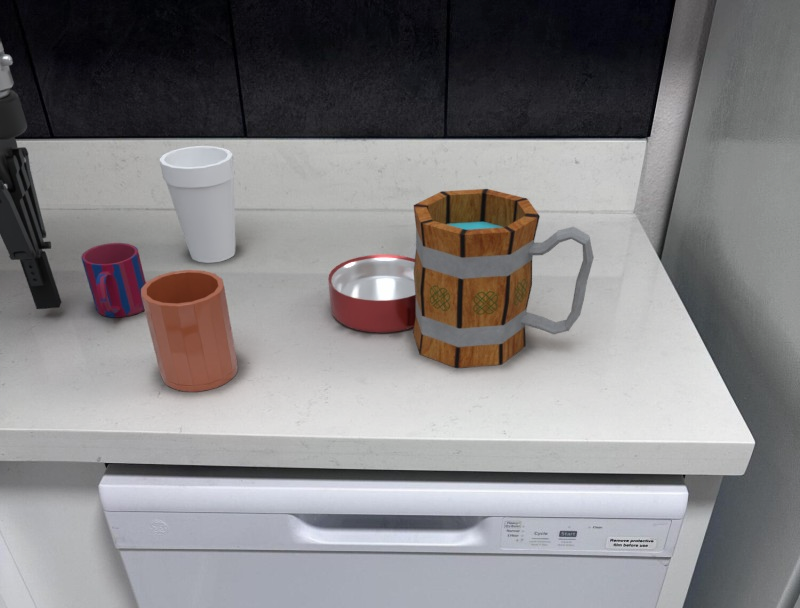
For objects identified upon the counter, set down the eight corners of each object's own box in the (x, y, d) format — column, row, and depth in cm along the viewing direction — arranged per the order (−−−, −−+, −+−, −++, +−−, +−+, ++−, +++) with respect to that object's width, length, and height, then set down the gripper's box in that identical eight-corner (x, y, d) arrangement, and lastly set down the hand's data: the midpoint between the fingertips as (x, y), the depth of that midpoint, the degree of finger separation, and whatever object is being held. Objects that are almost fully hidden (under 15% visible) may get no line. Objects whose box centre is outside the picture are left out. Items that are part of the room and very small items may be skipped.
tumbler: (145, 379, 87) (123, 294, 80) (196, 346, 93) (179, 264, 86) (204, 399, 84) (185, 312, 77) (252, 364, 89) (239, 280, 83)
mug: (398, 360, 90) (396, 228, 79) (426, 307, 99) (427, 184, 89) (572, 382, 86) (594, 247, 76) (583, 325, 95) (604, 198, 85)
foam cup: (189, 240, 116) (170, 145, 107) (251, 240, 116) (237, 145, 107) (172, 267, 109) (151, 168, 100) (238, 267, 109) (223, 168, 100)
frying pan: (392, 229, 118) (391, 185, 114) (476, 238, 116) (479, 193, 111) (315, 327, 96) (311, 276, 91) (418, 341, 93) (419, 289, 89)
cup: (157, 294, 103) (145, 243, 98) (132, 331, 95) (118, 277, 91) (107, 293, 103) (92, 242, 99) (78, 330, 96) (62, 276, 91)
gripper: (-1, 108, 77) (70, 328, 93) (29, 76, 87) (88, 281, 103) (-80, 112, 77) (5, 333, 92) (-42, 79, 86) (29, 285, 102)
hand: (49, 305), depth 98 cm, fingers closed
